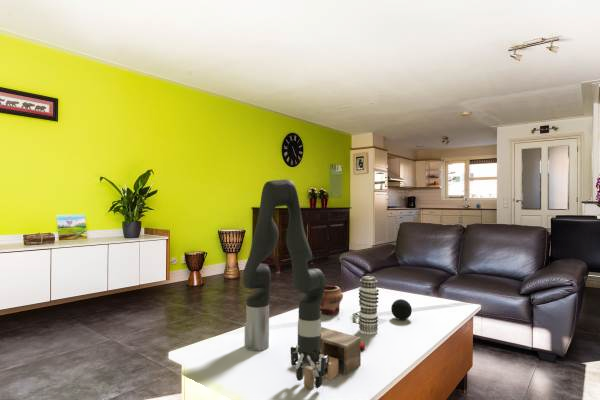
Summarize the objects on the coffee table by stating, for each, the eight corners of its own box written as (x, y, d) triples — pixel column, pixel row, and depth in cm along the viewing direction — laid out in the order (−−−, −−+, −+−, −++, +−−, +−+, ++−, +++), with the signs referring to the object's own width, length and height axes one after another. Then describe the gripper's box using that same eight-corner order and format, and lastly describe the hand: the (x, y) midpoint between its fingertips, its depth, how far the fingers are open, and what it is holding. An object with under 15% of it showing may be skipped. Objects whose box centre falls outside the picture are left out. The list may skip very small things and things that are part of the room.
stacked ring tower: (378, 335, 161) (379, 279, 161) (357, 333, 163) (358, 278, 163) (378, 328, 170) (378, 275, 170) (358, 327, 172) (359, 274, 172)
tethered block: (299, 386, 116) (300, 367, 116) (326, 369, 128) (326, 352, 128) (312, 391, 113) (312, 372, 113) (338, 373, 125) (338, 356, 125)
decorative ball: (407, 324, 177) (407, 303, 177) (388, 319, 183) (388, 300, 183) (414, 318, 185) (414, 299, 185) (395, 314, 191) (395, 296, 191)
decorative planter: (326, 320, 181) (327, 292, 181) (307, 315, 188) (307, 289, 188) (348, 311, 196) (348, 285, 196) (329, 307, 204) (329, 282, 204)
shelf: (300, 359, 136) (300, 332, 136) (316, 350, 144) (316, 325, 144) (346, 375, 124) (346, 346, 124) (360, 365, 132) (360, 337, 132)
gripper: (284, 329, 117) (284, 380, 117) (320, 340, 108) (320, 395, 108) (299, 323, 123) (298, 372, 123) (334, 333, 114) (334, 386, 114)
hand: (308, 383), depth 116 cm, fingers open, 6 cm apart
